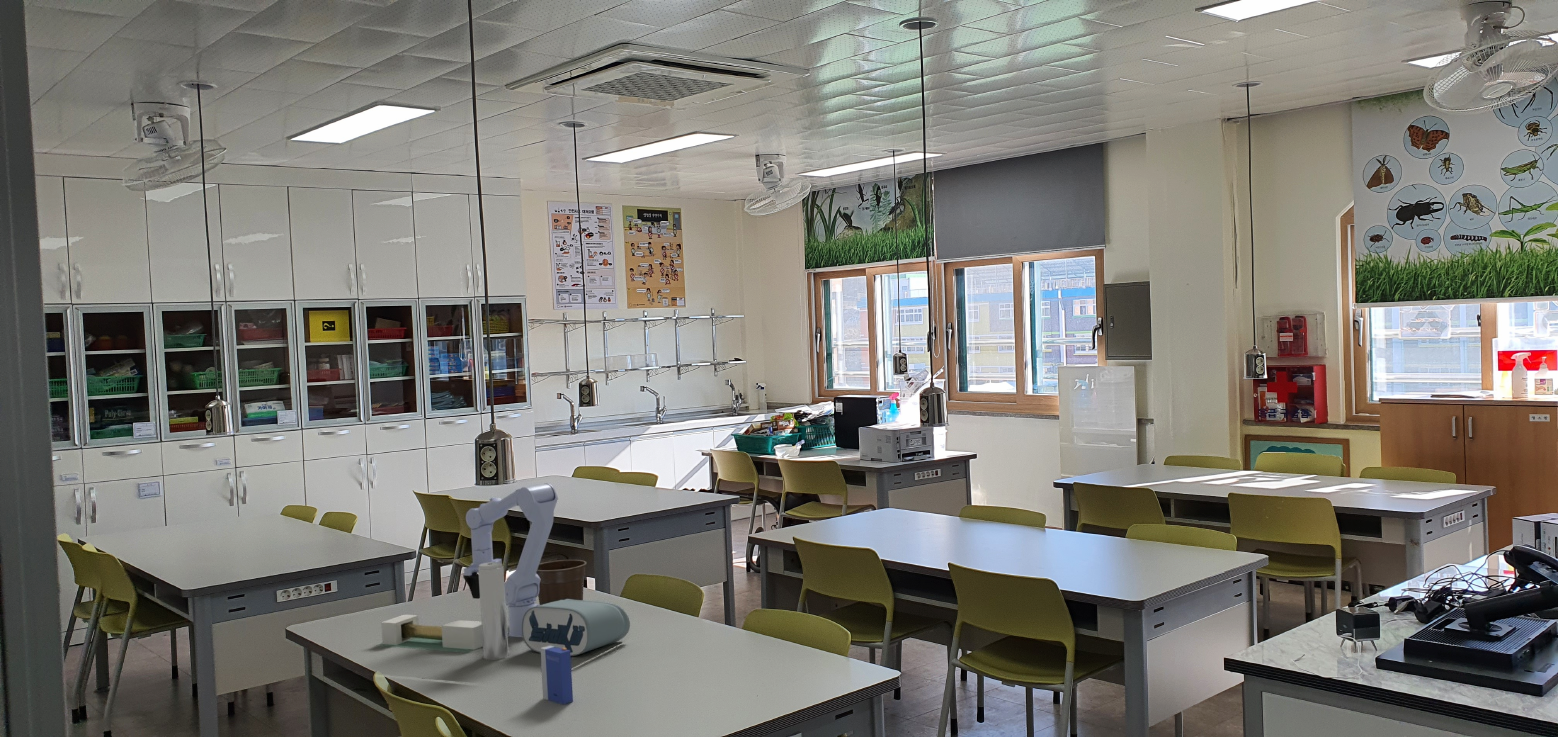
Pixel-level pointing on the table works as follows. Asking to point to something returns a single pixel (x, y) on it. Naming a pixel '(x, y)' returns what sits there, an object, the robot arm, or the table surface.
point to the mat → (427, 645)
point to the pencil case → (574, 625)
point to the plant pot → (561, 580)
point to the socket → (397, 629)
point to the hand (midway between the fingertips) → (484, 595)
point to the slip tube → (421, 631)
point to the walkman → (556, 674)
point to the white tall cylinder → (493, 610)
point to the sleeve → (462, 634)
